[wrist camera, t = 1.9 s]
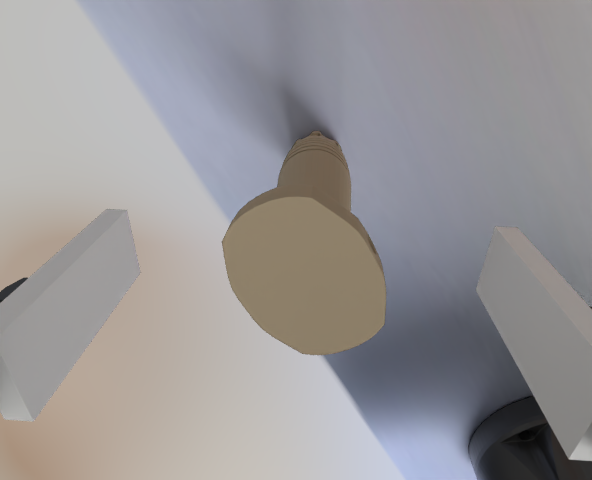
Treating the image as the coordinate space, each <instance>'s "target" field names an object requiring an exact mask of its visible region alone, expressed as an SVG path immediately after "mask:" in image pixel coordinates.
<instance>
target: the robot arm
mask: <svg viewBox="0 0 592 480" xmlns="http://www.w3.org/2000/svg"><path fill="white" fill-rule="evenodd" d="M139 274H140V268H139V263H138V259H137V254H136V250H135V245H134V240H133V236H132V231H131V226H130V222H129V217H128V212H127V210H114V209H106V210H105V211H104V212H103V213H102V214H101V215H99V216H98V217H97V218H96V219H95V220H94V221H92V222H91V223H90V224H89V225H88V226H87V227H86V228H85V229H84V230H82V231H81V232H80V233H79V234H78V235H77V236H76V237H74V239H72V240H71V241H70V242H69V243H68V244H67V245H65V246H64V247H63V248H62V249H61V250H60V251H59V252H57V254H56V255H54V256H53V257H52V258H51V259H50V260H48V261H47V262H46V263H45V264H44V265H43V266H42V267H41V268H40V269H38V270H37V271H36V272H35V273H34V274H33V275H32V276H30V277H29V278H23V279H21V280H19V281H17V282H15V283H13V284H11V285H9V286H7V287H6V288H4V289H3V290H2V291H1V292H0V412H1V414H2V416H3V418H4V419H7V420H22V421H34V420H35V419H36V417H37V416H38V415H39V413H40V412H41V410H42V409H43V407H44V406H45V405H46V403H47V402H48V401H49V399H50V398H51V396H52V395H53V394H54V392H55V391H56V390H57V388H58V387H59V385H60V384H61V383H62V381H63V380H64V378H65V377H66V376H67V374H68V373H69V371H70V370H71V369H72V367H73V366H74V364H75V363H76V361H77V360H78V359H79V358H80V356H81V355H82V353H83V352H84V351H85V349H86V348H87V346H88V345H89V344H90V342H91V341H92V339H93V338H94V336H95V335H96V334H97V332H98V331H99V330H100V328H101V327H102V326H103V324H104V323H105V321H106V320H107V318H108V317H109V316H110V314H111V313H112V312H113V310H114V309H115V307H116V306H117V305H118V303H119V302H120V300H121V299H122V298H123V296H124V295H125V293H126V292H127V291H128V289H129V288H130V287H131V285H132V284H133V282H134V281H135V280H136V278H137V277H138V275H139ZM476 292H477V294H478V295H479V297H480V299H481V301H482V303H483V304H484V306H485V308H486V310H487V312H488V314H489V315H490V317H491V319H492V321H493V323H494V324H495V326H496V328H497V330H498V332H499V334H500V335H501V337H502V339H503V341H504V343H505V344H506V346H507V348H508V350H509V352H510V354H511V355H512V357H513V359H514V361H515V363H516V364H517V366H518V368H519V370H520V372H521V374H522V375H523V377H524V379H525V381H526V383H527V384H528V386H529V388H530V390H531V392H532V394H533V395H534V397H530V398H527V399H523V400H520V401H518V402H515V403H513V404H510V405H508V406H506V407H504V408H502V409H500V410H499V411H497V412H496V413H494V414H493V415H491V416H490V417H489V418H487V419H486V420H485V421H484V422H483V423H482V424H481V425H480V426H479V427H478V428H477V430H476V431H475V433H474V435H473V436H472V439H471V441H470V445H469V455H470V459H471V462H472V465H473V468H474V471H475V474H476V477H477V480H592V307H589V306H588V304H587V303H586V302H585V301H584V300H583V299H582V298H581V297H580V296H579V295H578V293H577V292H576V291H575V290H574V289H573V288H572V287H571V286H570V285H569V284H568V282H567V281H566V280H565V279H564V278H563V277H562V276H561V275H560V274H559V273H558V271H557V270H556V269H555V268H554V267H553V266H552V265H551V264H550V263H549V262H548V260H547V259H546V258H545V257H544V256H543V255H542V254H541V253H540V252H539V251H538V250H537V248H536V247H535V246H534V245H533V244H532V243H531V242H530V241H529V240H528V239H527V237H526V236H525V235H524V234H523V233H522V232H521V231H520V230H519V229H518V228H517V227H495V228H494V231H493V235H492V238H491V241H490V245H489V248H488V251H487V254H486V258H485V261H484V264H483V268H482V271H481V274H480V277H479V281H478V284H477V287H476Z"/></svg>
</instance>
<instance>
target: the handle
mask: <svg viewBox="0 0 592 480" xmlns="http://www.w3.org/2000/svg"><path fill="white" fill-rule="evenodd" d="M222 246H223V251H224V258H225V264H226V269H227V274H228V278H229V281H230V284H231V287H232V290H233V291H234V293H235V295H236V296H237V298H238V300H239V301H240V302H241V303H242V305H243V306H244V307H245V309H246V310H247V312H248V313H249V314H250V316H251V317H252V318H253V320H254V321H255V322H256V323H257V324H258V325H259V326H260V327H261V328H262V329H263V330H264V331H266V332H267V333H268V334H270V335H271V336H272V337H274V338H276V339H278V340H279V341H281V342H283V343H284V344H286V345H288V346H290V347H292V348H293V349H295V350H297V351H299V352H300V353H302V354H310V355H327V354H334V353H338V352H342V351H345V350H349V349H351V348H353V347H356V346H358V345H361V344H362V343H364V342H366V341H367V340H369V339H371V338H372V337H373V336H374V335H375V334H376V333H377V332H378V331H379V330H380V329H381V328H382V327H383V325H384V324H385V310H386V286H385V278H384V272H383V268H382V264H381V261H380V258H379V256H378V253H377V251H376V249H375V247H374V245H373V243H372V241H371V239H370V237H369V235H368V233H367V232H366V230H365V228H364V227H363V225H362V224H361V222H360V221H359V220H358V218H356V217H355V216H354V215H353V214H352V213H351V180H350V174H349V170H348V166H347V163H346V160H345V157H344V155H343V153H342V150H341V147H340V145H339V144H338V142H337V141H336V140H330V139H329V138H326V137H325V136H323V135H322V134H321V132H320V131H313V132H312V133H311V134H310V135H309V136H308V137H306V138H304V139H298V140H297V141H296V142H295V144H294V145H293V147H292V149H291V150H290V151H289V153H288V155H287V156H286V158H285V160H284V162H283V165H282V168H281V171H280V174H279V179H278V185H277V188H274V189H272V190H269V191H267V192H264V193H262V194H261V195H259V196H257V197H256V198H254V199H253V200H251V201H249V202H248V203H247V204H246V205H245V206H244V207H243V208H241V209H240V210H239V212H238V213H237V215H236V216H235V218H234V219H233V220H232V222H231V224H230V226H229V228H228V230H227V232H226V234H225V236H224V239H223V241H222Z"/></svg>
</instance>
